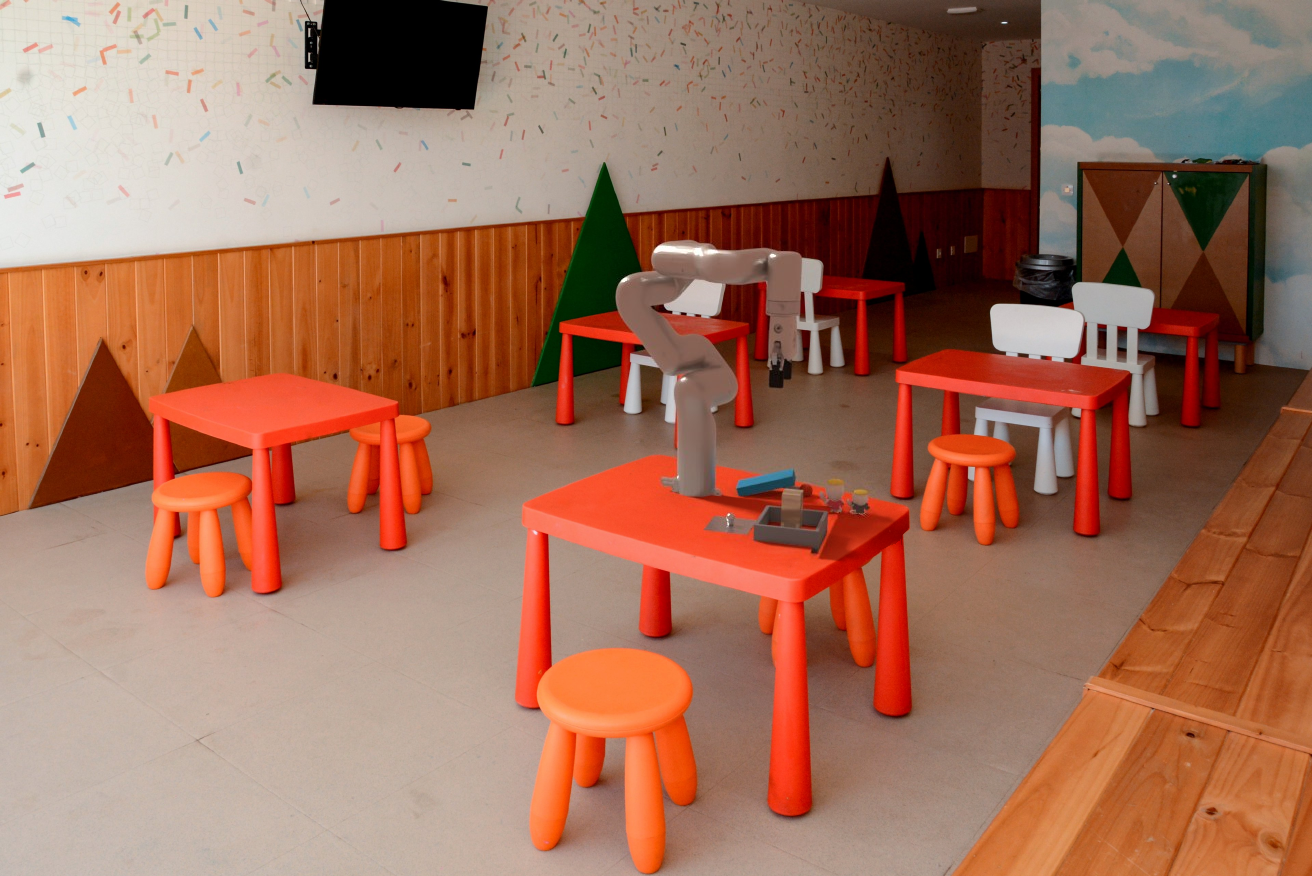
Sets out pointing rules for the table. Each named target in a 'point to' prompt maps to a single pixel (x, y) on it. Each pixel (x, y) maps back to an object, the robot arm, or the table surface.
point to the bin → (792, 534)
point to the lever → (771, 483)
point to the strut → (792, 508)
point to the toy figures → (836, 492)
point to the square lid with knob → (730, 524)
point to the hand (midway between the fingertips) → (780, 383)
